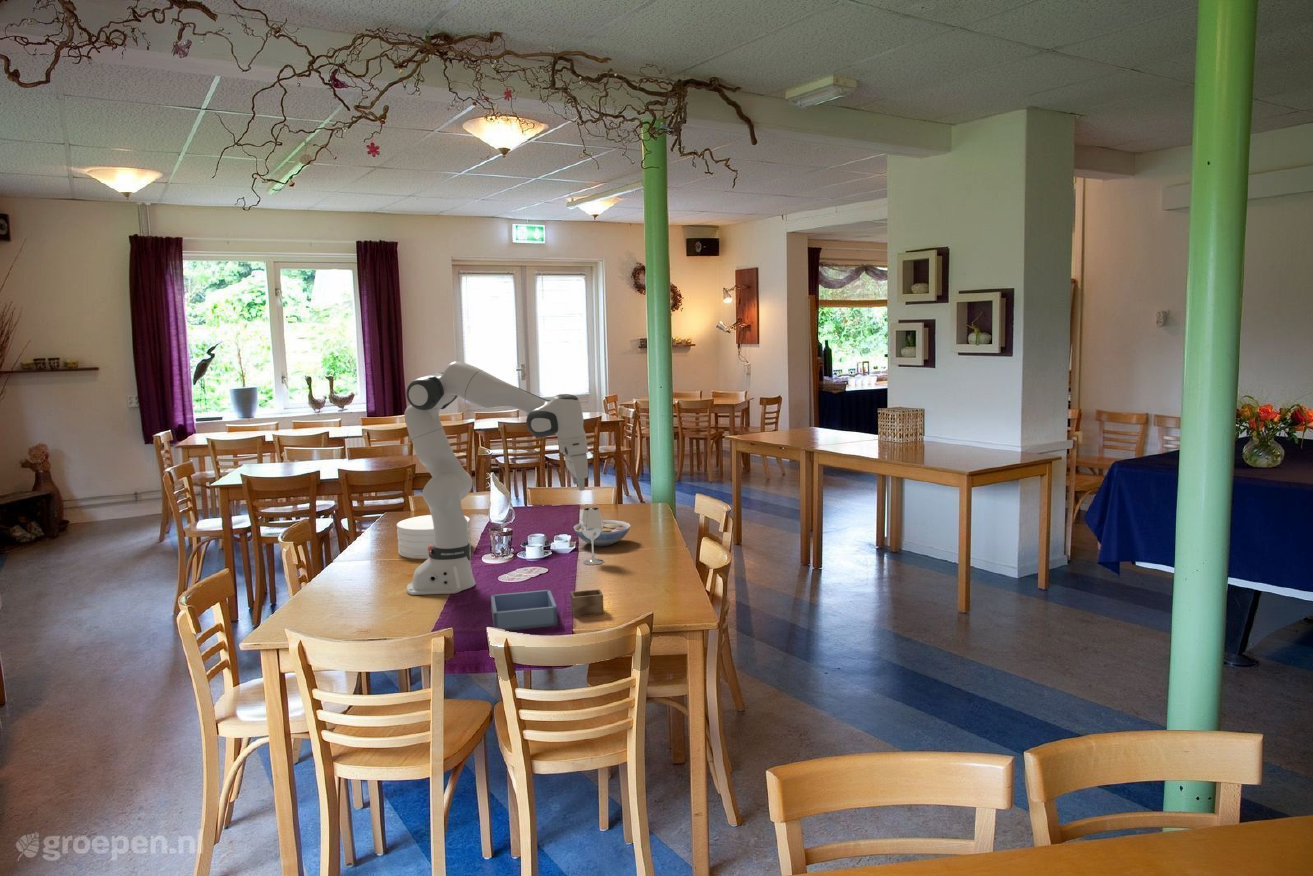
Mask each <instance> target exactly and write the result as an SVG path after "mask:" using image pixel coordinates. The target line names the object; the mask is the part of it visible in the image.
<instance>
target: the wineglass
mask: <svg viewBox="0 0 1313 876" xmlns="http://www.w3.org/2000/svg"><path fill="white" fill-rule="evenodd" d="M581 517H582V518H581V530H582V533H583V535H584V536H585V537H586V538H588V539H590V540H591V557H590V558H588V559H584V560H583V561H582V563H583V564H584V565H587V566H588V565H589V566H590V565H591V566H595V565H601V564H603V563H604V560H603V559H601V558H596V557H595V551H594V549H595V548H594V546H595V545H594V539H596V538H598V537H599V536H600V535H601V533H602V530H603V525H602V516H601V512H600V508H599V507H595V506H594V507H585V508H583V512H582V516H581Z"/></svg>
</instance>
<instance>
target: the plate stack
mask: <svg viewBox="0 0 1313 876" xmlns="http://www.w3.org/2000/svg"><path fill="white" fill-rule="evenodd" d="M464 517H465V518H466V520H467V526H468V543H469V544H470V549H471V548H472V543H471V541H472V537H471V535H472V534H471V524H470V522H471V521H470V520H471V519H470V517H468V516H466V515H464ZM396 529H397V531H396V533H397V541H398V543H397V547H398V554H399V555H400V556H401V557H404V558H410V559H418V560H419V559H420V560H421V559H426V560H427V559H428V558H429V551H428V547H429V545H433V546H434V545H435V540H434V526H433V520H432V516H431V514H426V515H425V514H424V515H419V516H414V517H409V518H406V519H403V520H400V521H398V522H397V523H396Z"/></svg>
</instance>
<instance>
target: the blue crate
mask: <svg viewBox="0 0 1313 876" xmlns="http://www.w3.org/2000/svg"><path fill="white" fill-rule="evenodd" d="M490 609H491V618H492V625H493V628H494V627H498V628H502V629H506V630H510V631H518V630H529V629H537V628H538V629H539V628H546V627H558V625H559V624H558V606H557V604H556V601H555V599H554V596H553V594H552V591H551V589H544V590H543V589H542V590H532V591H521V592H512V593H511V592H510V593H508V592H507V593H499V594H498V593H497V594H490Z"/></svg>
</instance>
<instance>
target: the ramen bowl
mask: <svg viewBox="0 0 1313 876" xmlns="http://www.w3.org/2000/svg"><path fill="white" fill-rule="evenodd" d="M581 523H582V522H581ZM581 523H578V524H575V525H574V526H573V529H574V531H575V534H576V535H577V536H578V537H579V539H580V540H582V541H583V542H585V543H587V544H591V540H590V539H588V538H586V537H585V536H584V535H583V533H582V530H581ZM602 525H603V530H602V533H601V535H600V536H599V537H598V538H596V539H594V546H595V547H609V546H611V545H613V544H615V543H618V542H619V541H621V540H622V539H623V538H625V536H626V535H627V534H628V532H629V530H630V529H631V527H632V526H631V524H630V523H629V522H626V521H621V520H615V519H614V520H613V519H611V520H610V519H609V520H608V519H606V520H605V519H603V520H602ZM591 545H592V544H591Z"/></svg>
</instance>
